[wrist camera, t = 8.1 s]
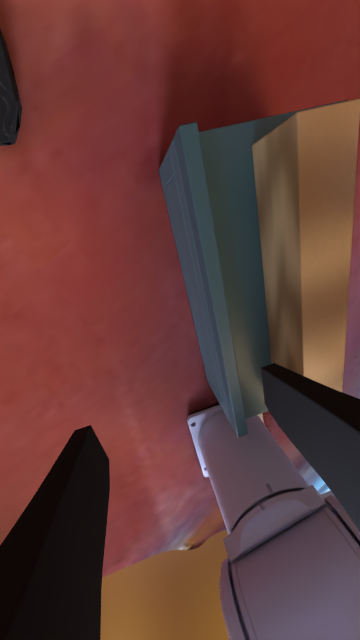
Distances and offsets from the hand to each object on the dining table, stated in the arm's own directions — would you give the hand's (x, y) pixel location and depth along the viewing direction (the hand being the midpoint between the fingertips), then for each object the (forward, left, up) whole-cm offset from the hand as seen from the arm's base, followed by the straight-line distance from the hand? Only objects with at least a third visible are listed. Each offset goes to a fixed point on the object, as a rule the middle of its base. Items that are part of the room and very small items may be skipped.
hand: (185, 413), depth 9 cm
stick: (+2, -8, -5) cm, 10 cm away
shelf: (+1, -8, -10) cm, 13 cm away
